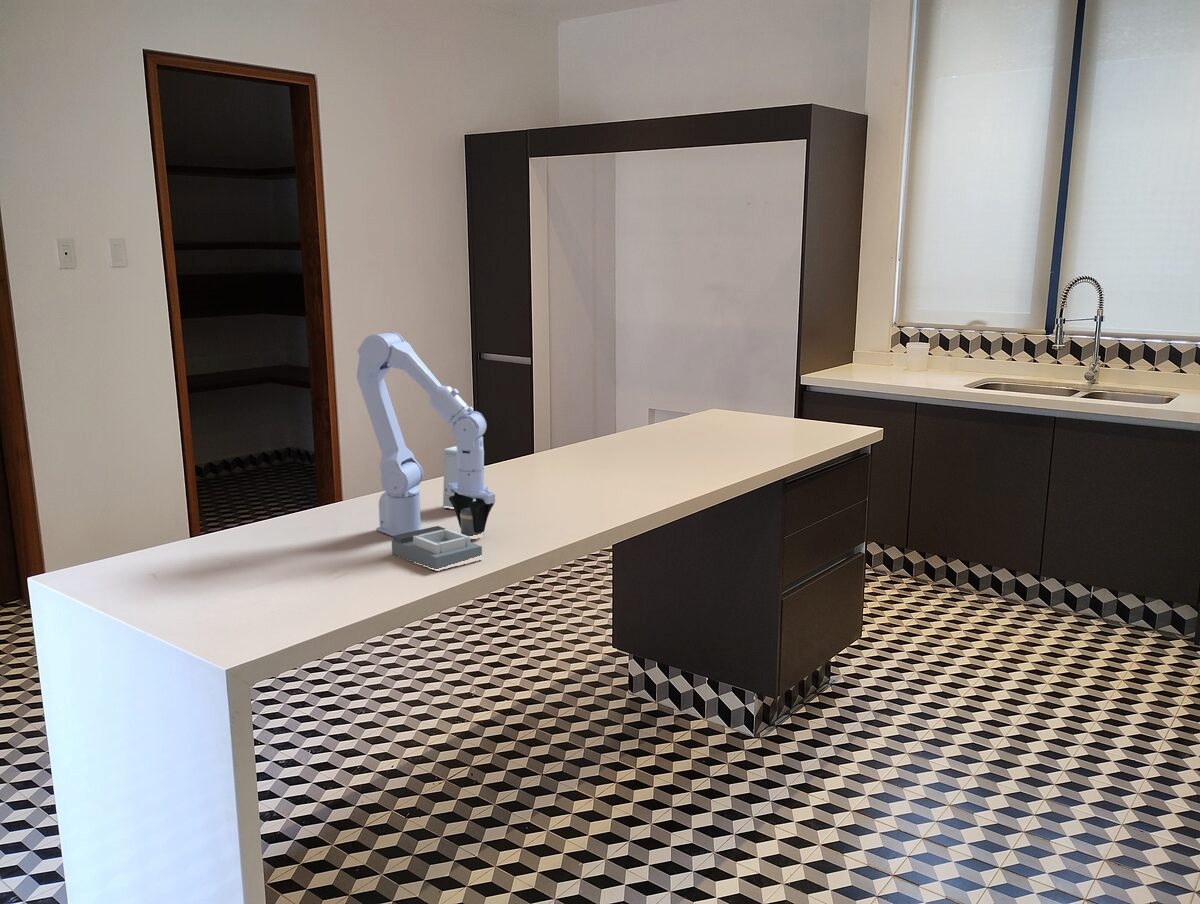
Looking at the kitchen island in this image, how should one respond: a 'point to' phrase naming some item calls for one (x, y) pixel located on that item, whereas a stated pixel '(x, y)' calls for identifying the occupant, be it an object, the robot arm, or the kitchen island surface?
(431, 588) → the kitchen island surface
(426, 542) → the camera body
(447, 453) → the skincare box
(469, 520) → the lens
